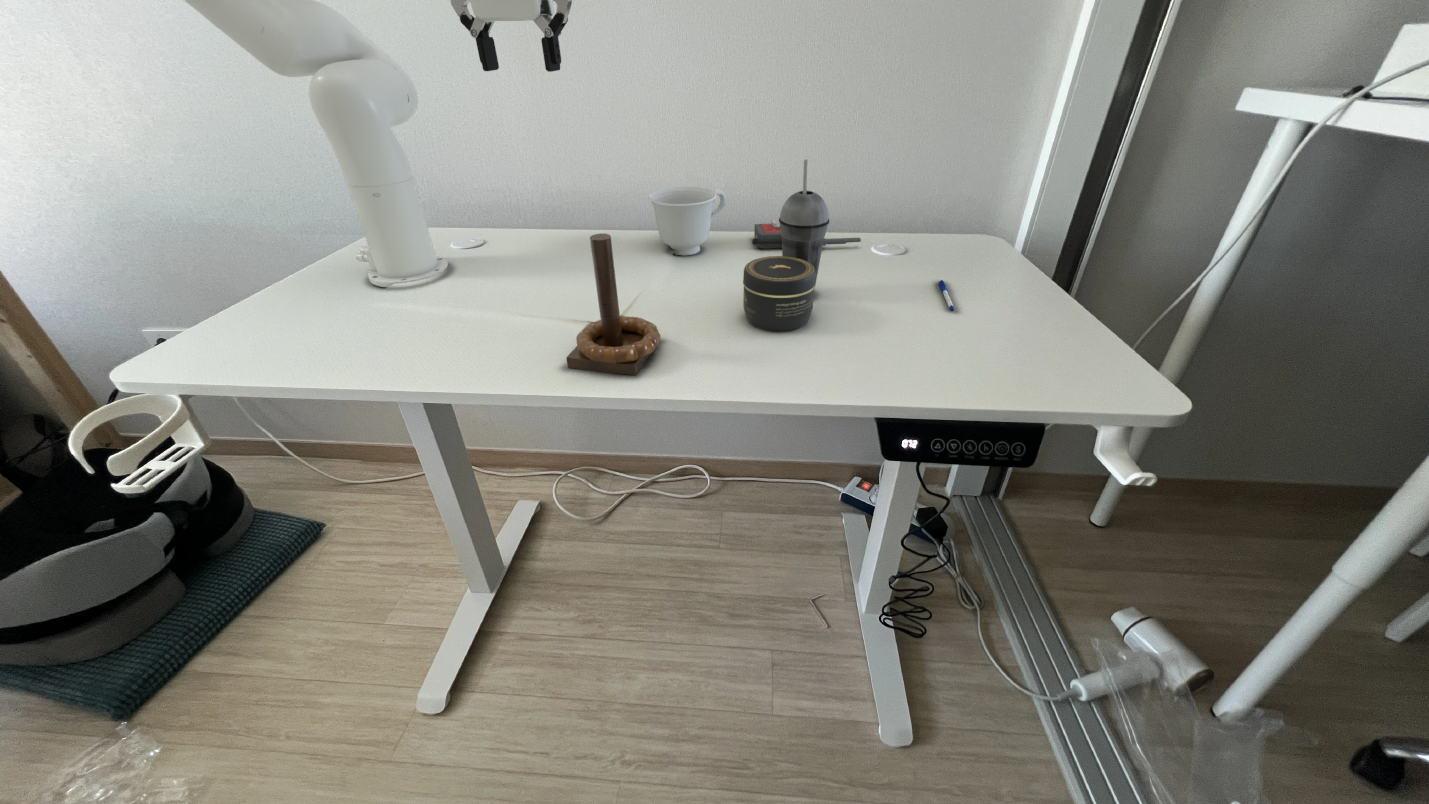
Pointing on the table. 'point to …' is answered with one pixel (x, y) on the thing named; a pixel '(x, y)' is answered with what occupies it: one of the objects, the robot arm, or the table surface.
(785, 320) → the jar
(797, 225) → the beverage cup
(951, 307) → the blue marker pen
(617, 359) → the ring
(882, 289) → the table surface
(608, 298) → the post
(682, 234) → the teacup
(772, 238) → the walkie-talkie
